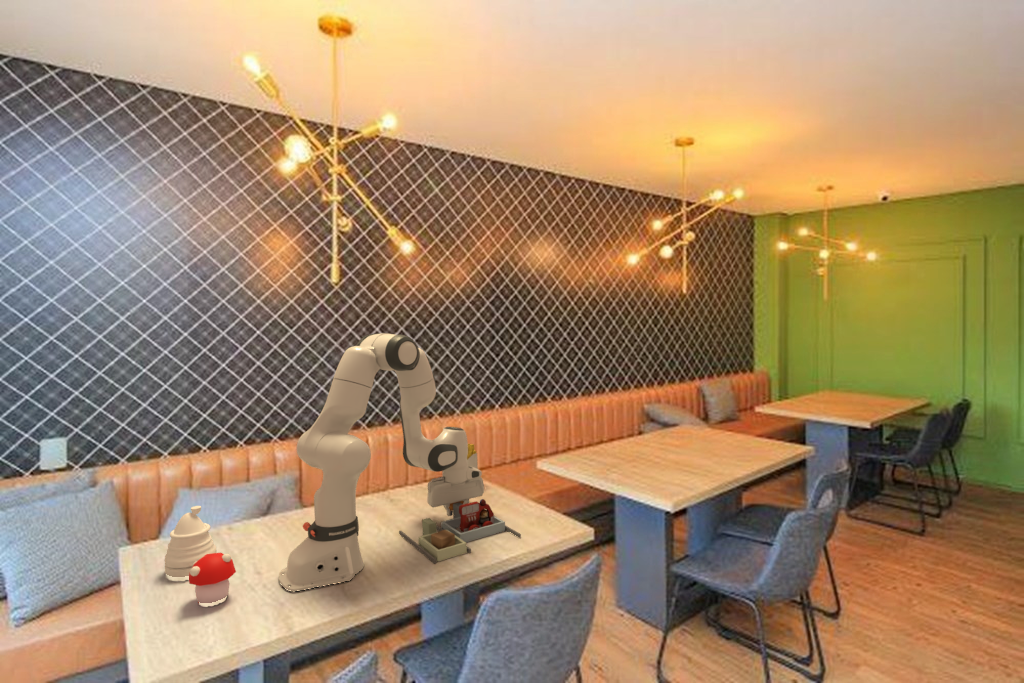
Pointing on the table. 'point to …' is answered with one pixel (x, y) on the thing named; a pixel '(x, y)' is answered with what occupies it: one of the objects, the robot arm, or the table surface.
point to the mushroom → (212, 577)
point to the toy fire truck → (475, 515)
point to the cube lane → (441, 554)
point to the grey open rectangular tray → (472, 534)
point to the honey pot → (188, 544)
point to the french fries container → (472, 456)
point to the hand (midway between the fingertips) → (456, 513)
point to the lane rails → (441, 530)
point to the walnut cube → (442, 539)
